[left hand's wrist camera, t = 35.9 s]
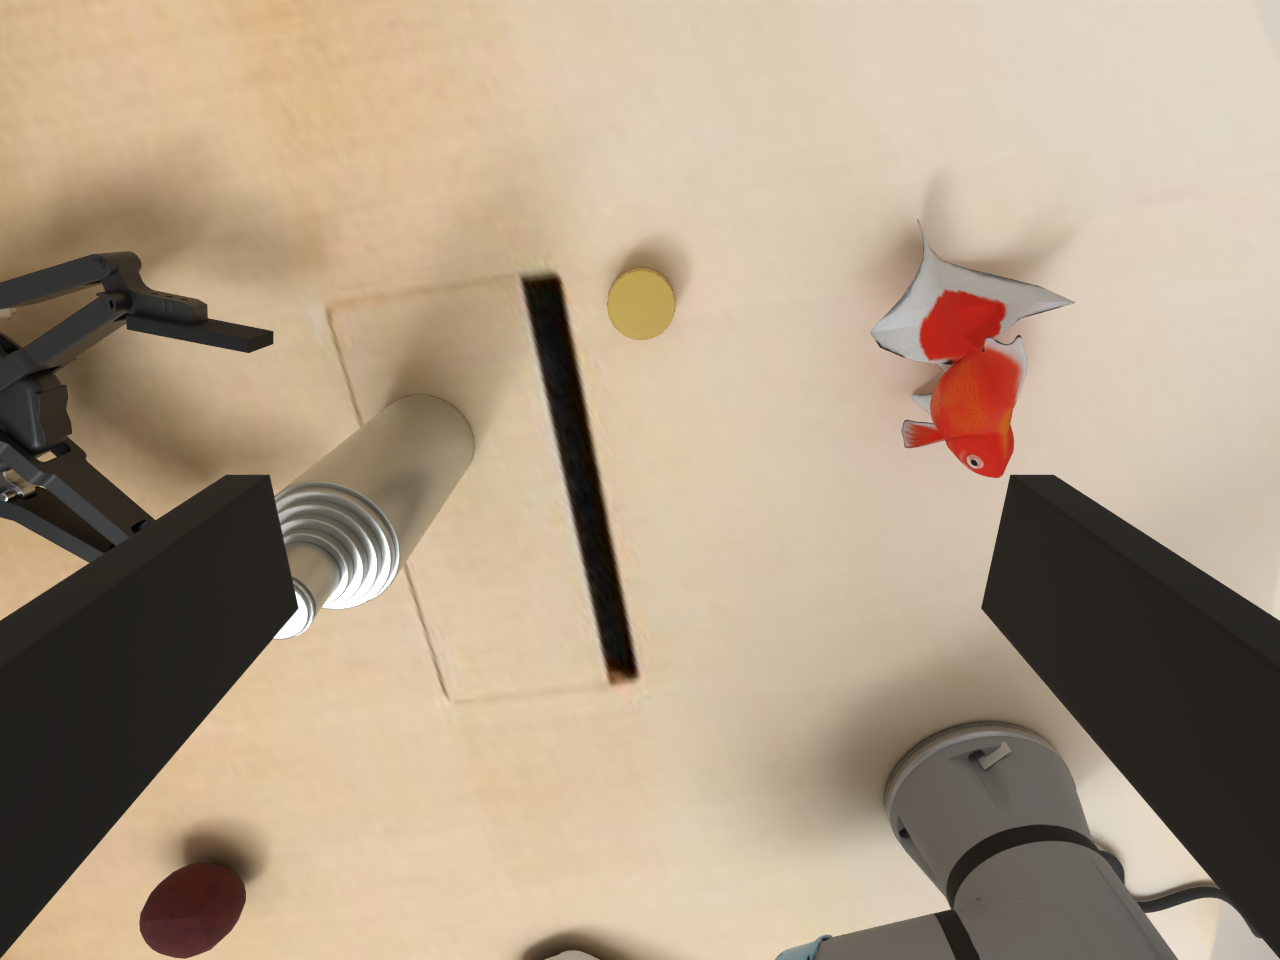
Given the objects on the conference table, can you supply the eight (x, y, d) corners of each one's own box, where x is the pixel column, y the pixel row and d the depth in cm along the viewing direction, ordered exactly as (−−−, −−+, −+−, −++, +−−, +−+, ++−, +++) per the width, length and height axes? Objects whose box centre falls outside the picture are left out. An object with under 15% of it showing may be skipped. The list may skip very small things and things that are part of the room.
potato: (163, 847, 61) (106, 923, 55) (246, 840, 61) (199, 916, 55) (191, 903, 64) (140, 982, 58) (271, 897, 64) (229, 976, 57)
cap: (605, 269, 43) (604, 272, 41) (672, 264, 43) (674, 267, 41) (610, 336, 44) (609, 342, 42) (675, 332, 44) (677, 338, 42)
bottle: (487, 474, 48) (381, 659, 28) (398, 495, 49) (233, 691, 29) (454, 383, 46) (313, 517, 26) (361, 407, 46) (153, 556, 27)
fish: (837, 490, 43) (955, 477, 34) (814, 252, 44) (923, 175, 35) (969, 481, 47) (1110, 467, 37) (946, 260, 48) (1077, 192, 38)
